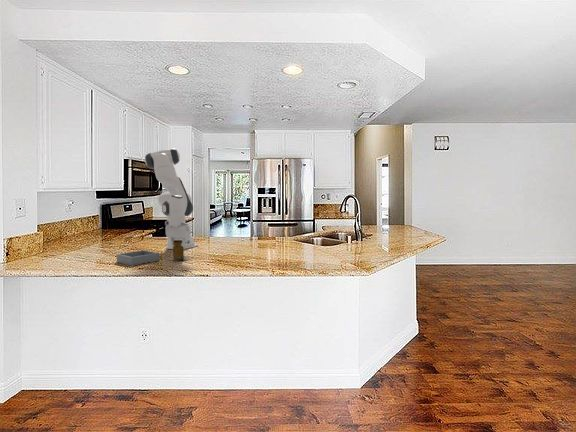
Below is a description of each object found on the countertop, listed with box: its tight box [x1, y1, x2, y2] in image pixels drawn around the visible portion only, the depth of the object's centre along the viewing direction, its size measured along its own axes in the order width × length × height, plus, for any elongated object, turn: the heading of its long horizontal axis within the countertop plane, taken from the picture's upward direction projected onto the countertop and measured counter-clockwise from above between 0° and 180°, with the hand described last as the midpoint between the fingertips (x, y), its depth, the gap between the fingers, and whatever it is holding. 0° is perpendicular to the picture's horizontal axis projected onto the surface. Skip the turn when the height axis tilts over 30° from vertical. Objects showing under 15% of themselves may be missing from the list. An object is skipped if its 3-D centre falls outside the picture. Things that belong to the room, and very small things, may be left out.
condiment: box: [172, 240, 189, 262], centre depth 257 cm, size 7×8×12 cm
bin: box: [116, 249, 160, 267], centre depth 254 cm, size 18×17×5 cm
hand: (178, 245), depth 256 cm, fingers open, 8 cm apart
